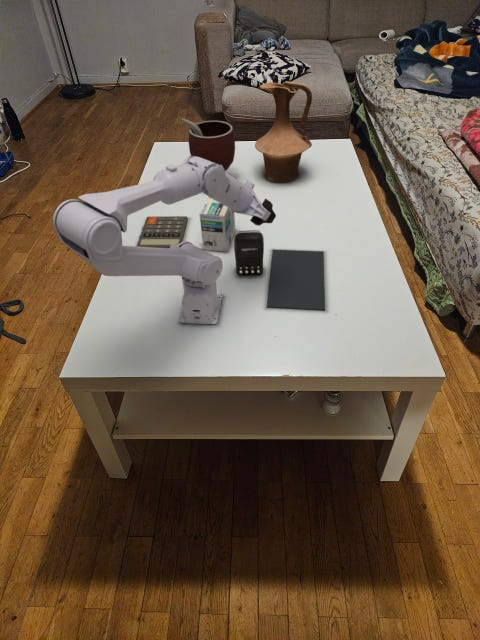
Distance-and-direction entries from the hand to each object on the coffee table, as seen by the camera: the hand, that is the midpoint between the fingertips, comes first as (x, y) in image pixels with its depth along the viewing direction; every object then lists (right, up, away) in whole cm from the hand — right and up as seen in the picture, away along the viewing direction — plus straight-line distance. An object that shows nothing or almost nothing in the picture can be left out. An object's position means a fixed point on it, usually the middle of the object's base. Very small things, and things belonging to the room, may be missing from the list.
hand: (261, 210), depth 104 cm
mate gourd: (-14, +19, +42) cm, 49 cm away
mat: (+9, -15, +6) cm, 18 cm away
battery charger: (-2, -14, +8) cm, 16 cm away
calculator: (-26, -1, +22) cm, 34 cm away
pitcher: (+9, +22, +44) cm, 50 cm away
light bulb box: (-10, -3, +19) cm, 22 cm away
